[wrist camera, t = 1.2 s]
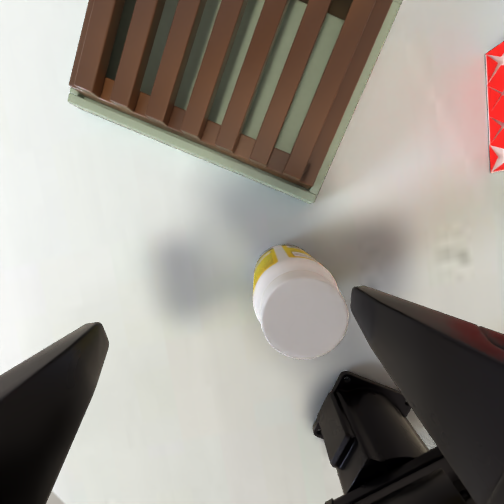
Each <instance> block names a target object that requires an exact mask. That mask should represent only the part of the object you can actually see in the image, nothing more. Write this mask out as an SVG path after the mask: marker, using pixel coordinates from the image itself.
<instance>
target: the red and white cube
mask: <svg viewBox="0 0 504 504" xmlns="http://www.w3.org/2000/svg"><path fill="white" fill-rule="evenodd" d="M485 57H486V78H487V100H488V122H489V143H490V145H489V148H490V170H491V173H495V172H501V171H504V41H503V42H502V43H500V44H499V45H498V46H496V47H495V48H493V49H492V50H491V51H489V52H488V53H486V54H485Z"/></svg>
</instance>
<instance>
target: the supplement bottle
mask: <svg viewBox="0 0 504 504" xmlns="http://www.w3.org/2000/svg"><path fill="white" fill-rule="evenodd" d="M253 307H254V311H255V314H256V316H257V318H258V320H259V322H260V323H261V327H262V331H263V333H264V336H265V338H266V339H267V341H268V342H269V344H270V345H271V346H272V347H273V348H274V349H276V350H277V351H278V352H280V353H281V354H283V355H285V356H288V357H291V358H294V359H313V358H317V357H320V356H323V355H325V354H327V353H328V352H330V351H331V350H333V349H334V348H335V347H336V346H337V345H338V344H339V342H340V341H341V340H342V338H343V337H344V335H345V333H346V330H347V326H348V319H349V317H348V308H347V305H346V302H345V300H344V298H343V296H342V295H341V293H340V292H339V289H338V286H337V283H336V281H335V279H334V278H333V276H332V275H331V273H330V272H329V271H328V270H327V269H326V268H325V267H324V266H323V265H321V264H320V263H319V262H318V261H316V260H315V259H314V258H313V257H311V256H310V255H309V254H307V253H306V252H305V251H304V250H302V249H301V248H299V247H297V246H294V245H289V244H282V245H277V246H274V247H272V248H270V249H268V250H267V251H265V252H264V253H263V254H262V255H261V256H260V258H259V259H258V261H257V263H256V266H255V270H254V285H253Z"/></svg>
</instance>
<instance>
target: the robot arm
mask: <svg viewBox="0 0 504 504" xmlns="http://www.w3.org/2000/svg"><path fill="white" fill-rule="evenodd" d="M350 307H351V311H352V313H353V315H354V317H355V319H356V321H357V323H358V325H359V327H360V328H361V330H362V332H363V334H364V336H365V338H366V340H367V341H368V343H369V345H370V347H371V348H372V350H373V351H374V353H375V355H376V356H377V357H378V359H379V360H380V362H381V363H382V365H383V366H384V368H385V369H386V371H387V372H388V374H389V375H390V377H391V378H392V380H393V381H394V383H395V384H396V386H397V387H398V389H399V390H400V391H397V390H394V389H392V388H389V387H387V386H384V385H382V384H379V383H377V382H374V381H371V380H369V379H366V378H364V377H361V376H359V375H356V374H354V373H351V372H348V371H343V372H341V374H340V375H339V377H338V379H337V381H336V383H335V385H334V387H333V389H332V391H331V392H330V393H329V394H328V396H327V398H326V400H325V401H324V403H323V405H322V407H321V409H320V411H319V413H318V415H317V419H316V421H315V423H314V425H313V432H314V435H315V436H317V437H319V438H322V439H324V442H325V446H326V449H327V453H328V456H329V460H330V463H331V465H332V466H333V467H335V468H336V469H337V473H338V476H339V479H340V483H341V486H342V489H343V493H344V495H342V496H340V497H338V498H336V499H335V500H333V499H330V500H328V501H326V502H325V504H504V334H502V333H499V332H496V331H493V330H490V329H487V328H485V327H482V326H479V327H478V326H477V325H476V324H473V323H470V322H467V321H464V320H461V319H459V318H456V317H453V316H450V315H447V314H444V313H441V312H439V311H436V310H433V309H430V308H427V307H424V306H421V305H418V304H416V303H413V302H410V301H407V300H404V299H401V298H398V297H396V296H393V295H390V294H387V293H384V292H381V291H378V290H376V289H373V288H370V287H367V286H357V287H354V288H353V289H352V294H351V304H350ZM108 347H109V341H108V338H107V335H106V333H105V330H104V328H103V326H102V324H101V323H99V322H95V323H88V324H85V325H83V326H82V327H80V328H78V329H77V330H75V331H73V332H72V333H70V334H68V335H67V336H65V337H63V338H62V339H60V340H58V341H57V342H55V343H53V344H52V345H50V346H48V347H47V348H45V349H43V350H42V351H40V352H38V353H37V354H35V355H33V356H32V357H30V358H28V359H27V360H25V361H23V362H22V363H20V364H18V365H17V366H15V367H14V368H12V369H10V370H9V371H7V372H5V373H4V374H2V375H0V504H46V502H47V500H48V498H49V495H50V493H51V491H52V489H53V486H54V484H55V482H56V479H57V477H58V475H59V472H60V470H61V468H62V465H63V463H64V461H65V459H66V456H67V454H68V452H69V449H70V447H71V445H72V442H73V440H74V438H75V435H76V433H77V431H78V429H79V426H80V424H81V422H82V419H83V417H84V415H85V412H86V410H87V408H88V405H89V403H90V401H91V398H92V396H93V393H94V391H95V388H96V385H97V382H98V379H99V376H100V373H101V370H102V367H103V363H104V360H105V357H106V354H107V351H108ZM345 377H348V378H347V379H344V378H345ZM405 401H406V402H405ZM411 408H412V409H413V411H414V412H415V414H416V415H417V417H418V418H419V420H420V421H421V423H422V424H423V426H424V427H425V429H426V430H427V432H428V433H429V435H430V436H431V438H432V439H433V441H434V442H435V443H436V445H437V447H435V448H433V449H431V450H429V449H428V448H427V446H426V445H425V444H424V442H423V441H422V439H421V438H420V437H419V435H418V434H417V432H416V431H415V430H414V428H413V427H412V425H411V424H410V423H409V421H408V420H407V418H406V416H407V414H408V413H409V411H410V409H411Z"/></svg>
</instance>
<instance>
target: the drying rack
mask: <svg viewBox="0 0 504 504" xmlns="http://www.w3.org/2000/svg"><path fill="white" fill-rule="evenodd" d="M125 1H126V0H89V2H88V6H87V10H86V15H85V19H84V23H83V27H82V31H81V36H80V40H79V44H78V48H77V52H76V57H75V61H74V65H73V69H72V73H71V77H70V82H69V86H70V87H71V88H73V89H74V90H76V91H77V92H79V93H80V94H82V95H83V96H85V97H86V98H89V99H91V100H93V101H96V102H98V103H101V104H103V105H106V106H108V107H110V108H113V109H115V110H118V111H120V112H122V113H125V114H127V115H130V116H132V117H134V118H137V119H139V120H142V121H144V122H147V123H149V124H151V125H154V126H156V127H159V128H161V129H163V130H166V131H168V132H171V133H173V134H176V135H178V136H180V137H183V138H185V139H188V140H190V141H192V142H195V143H197V144H200V145H202V146H204V147H207V148H209V149H212V150H214V151H217V152H219V153H221V154H224V155H226V156H229V157H231V158H233V159H236V160H238V161H241V162H243V163H246V164H248V165H250V166H253V167H255V168H258V169H260V170H262V171H265V172H267V173H270V174H272V175H274V176H277V177H279V178H282V179H284V180H287V181H289V182H291V183H294V184H296V185H299V186H301V187H303V188H306V189H309V188H311V187H312V186H313V185H314V182H315V180H316V178H317V175H318V173H319V171H320V168H321V166H322V164H323V162H324V159H325V157H326V155H327V152H328V150H329V148H330V145H331V143H332V141H333V138H334V136H335V134H336V131H337V129H338V127H339V125H340V122H341V120H342V118H343V115H344V113H345V111H346V108H347V106H348V104H349V101H350V99H351V97H352V94H353V92H354V90H355V88H356V85H357V83H358V81H359V78H360V76H361V74H362V71H363V69H364V67H365V64H366V62H367V60H368V57H369V55H370V53H371V51H372V48H373V46H374V44H375V41H376V39H377V37H378V34H379V32H380V30H381V27H382V25H383V23H384V21H385V18H386V16H387V14H388V11H389V9H390V7H391V4H392V2H393V0H299V1H302V2H304V3H306V4H307V6H306V9H305V12H304V14H303V17H302V20H301V22H300V25H299V27H298V30H297V33H296V35H295V38H294V41H293V43H292V46H291V49H290V51H289V54H288V57H287V59H286V62H285V64H284V67H283V70H282V72H281V75H280V78H279V80H278V83H277V86H276V88H275V91H274V93H273V96H272V99H271V101H270V104H269V107H268V109H267V112H266V115H265V117H264V120H263V122H262V125H261V128H260V130H259V133H258V136H257V138H256V139H253V138H251V137H249V136H246V135H244V134H241V133H242V130H243V127H244V125H245V122H246V119H247V116H248V114H249V111H250V108H251V105H252V103H253V100H254V97H255V95H256V92H257V89H258V86H259V84H260V81H261V78H262V75H263V73H264V70H265V67H266V65H267V62H268V59H269V56H270V54H271V51H272V48H273V46H274V43H275V40H276V37H277V35H278V32H279V29H280V26H281V24H282V21H283V18H284V16H285V13H286V10H287V7H288V5H289V2H290V0H265V2H264V5H263V7H262V10H261V13H260V16H259V19H258V22H257V25H256V27H255V30H254V33H253V36H252V39H251V42H250V44H249V47H248V50H247V53H246V56H245V59H244V62H243V64H242V67H241V70H240V73H239V76H238V79H237V81H236V84H235V87H234V90H233V93H232V96H231V99H230V101H229V104H228V107H227V110H226V113H225V116H224V119H223V121H222V124H221V125H220V124H218V123H215V122H213V121H210V120H208V117H209V114H210V111H211V108H212V105H213V103H214V100H215V97H216V94H217V91H218V88H219V85H220V82H221V79H222V76H223V73H224V70H225V67H226V64H227V61H228V59H229V56H230V53H231V50H232V47H233V44H234V41H235V38H236V35H237V32H238V29H239V26H240V23H241V20H242V17H243V14H244V12H245V9H246V6H247V3H248V0H222V1H221V4H220V7H219V10H218V13H217V16H216V19H215V22H214V25H213V29H212V32H211V35H210V38H209V41H208V44H207V47H206V50H205V53H204V56H203V59H202V63H201V66H200V69H199V72H198V75H197V78H196V81H195V84H194V87H193V90H192V93H191V97H190V100H189V103H188V106H187V109H186V110H184V109H182V108H179V107H177V106H175V105H174V104H175V101H176V97H177V94H178V91H179V88H180V85H181V82H182V78H183V75H184V72H185V69H186V66H187V62H188V59H189V56H190V53H191V50H192V47H193V43H194V40H195V37H196V34H197V31H198V27H199V24H200V21H201V18H202V15H203V12H204V8H205V5H206V2H207V0H179V1H178V4H177V7H176V11H175V14H174V17H173V21H172V24H171V28H170V31H169V34H168V38H167V41H166V45H165V48H164V51H163V55H162V58H161V61H160V65H159V68H158V72H157V75H156V78H155V82H154V85H153V88H152V92H151V95H148V94H146V93H143V92H141V91H140V89H141V85H142V82H143V78H144V75H145V71H146V68H147V64H148V61H149V57H150V54H151V50H152V47H153V44H154V40H155V37H156V33H157V30H158V26H159V23H160V19H161V16H162V12H163V9H164V5H165V2H166V0H136V3H135V7H134V11H133V14H132V18H131V22H130V25H129V29H128V33H127V37H126V40H125V44H124V48H123V51H122V55H121V59H120V63H119V66H118V70H117V74H116V77H115V80H112V79H110V78H108V77H106V73H107V69H108V66H109V62H110V58H111V54H112V50H113V47H114V43H115V39H116V35H117V31H118V28H119V24H120V20H121V16H122V12H123V8H124V5H125ZM327 13H329V14H331V15H333V16H336V17H338V18H340V19H342V20H344V23H343V25H342V28H341V30H340V33H339V35H338V38H337V40H336V43H335V45H334V47H333V50H332V52H331V55H330V57H329V60H328V62H327V65H326V67H325V70H324V72H323V75H322V77H321V79H320V82H319V84H318V87H317V89H316V92H315V94H314V97H313V99H312V102H311V104H310V106H309V109H308V111H307V114H306V116H305V119H304V121H303V124H302V126H301V129H300V131H299V133H298V136H297V138H296V141H295V143H294V146H293V148H292V151H291V153H290V154H289V153H287V152H285V151H282V150H280V149H277V148H275V145H276V142H277V139H278V137H279V134H280V132H281V129H282V127H283V124H284V122H285V119H286V117H287V114H288V112H289V109H290V106H291V104H292V101H293V99H294V96H295V94H296V91H297V89H298V86H299V84H300V81H301V79H302V76H303V73H304V71H305V68H306V66H307V63H308V61H309V58H310V56H311V53H312V51H313V48H314V46H315V43H316V40H317V38H318V35H319V33H320V30H321V28H322V25H323V23H324V20H325V18H326V15H327Z"/></svg>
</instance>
